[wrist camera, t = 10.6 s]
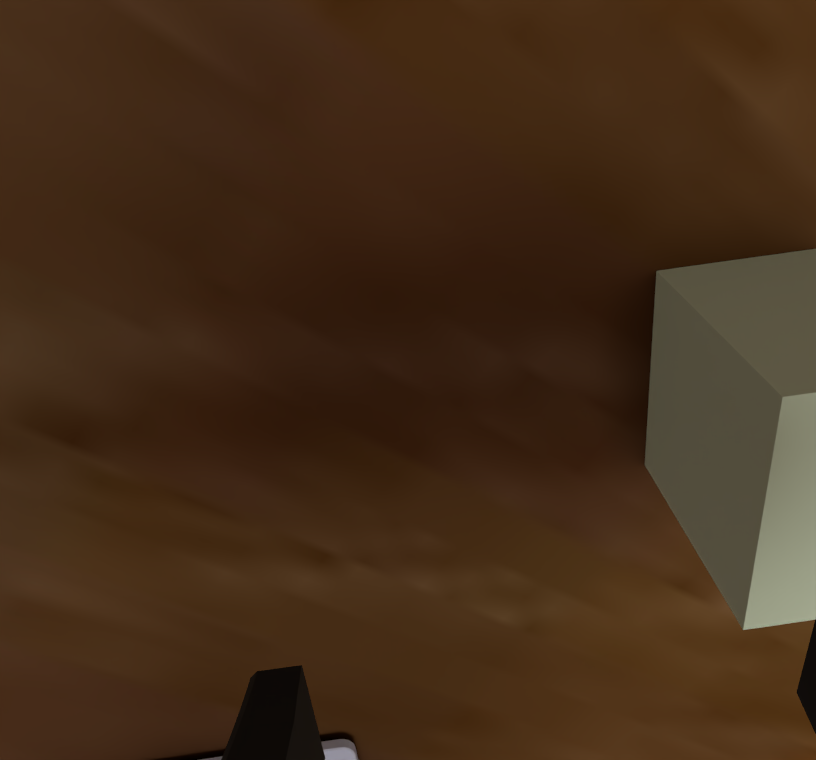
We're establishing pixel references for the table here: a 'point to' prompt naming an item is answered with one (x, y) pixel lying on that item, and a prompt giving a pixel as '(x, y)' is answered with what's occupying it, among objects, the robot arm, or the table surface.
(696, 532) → the square dumbbell
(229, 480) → the table surface
